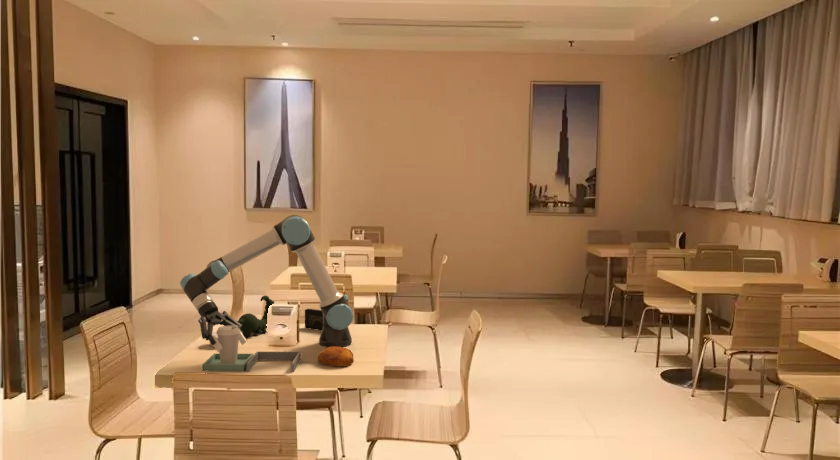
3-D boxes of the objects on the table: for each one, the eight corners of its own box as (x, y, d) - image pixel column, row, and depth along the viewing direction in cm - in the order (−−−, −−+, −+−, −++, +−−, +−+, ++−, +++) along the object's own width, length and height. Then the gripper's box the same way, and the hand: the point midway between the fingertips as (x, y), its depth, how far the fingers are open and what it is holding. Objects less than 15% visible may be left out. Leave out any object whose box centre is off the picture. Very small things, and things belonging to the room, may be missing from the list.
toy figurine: (262, 331, 346) (228, 338, 323) (264, 293, 345) (230, 297, 322) (278, 334, 341) (244, 340, 318) (279, 295, 341) (246, 299, 318)
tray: (253, 359, 289) (253, 353, 288) (244, 370, 272) (244, 364, 272) (214, 359, 288) (214, 353, 288) (202, 370, 272) (202, 364, 271)
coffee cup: (234, 367, 275) (233, 331, 273) (212, 365, 276) (211, 329, 275) (244, 361, 284) (244, 325, 283) (223, 359, 286) (223, 324, 284)
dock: (300, 359, 289) (300, 351, 289) (293, 372, 271) (293, 363, 271) (256, 359, 289) (256, 351, 288) (246, 371, 271) (246, 363, 270)
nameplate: (304, 328, 347) (304, 309, 347) (307, 327, 349) (307, 308, 348) (338, 333, 337) (338, 313, 336) (340, 332, 339) (340, 312, 338)
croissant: (340, 375, 275) (342, 356, 274) (311, 364, 283) (312, 345, 282) (361, 365, 288) (363, 347, 286) (332, 355, 295) (334, 337, 294)
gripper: (223, 306, 297) (249, 345, 291) (177, 317, 275) (204, 358, 269) (231, 296, 294) (258, 334, 288) (186, 305, 272) (214, 347, 266)
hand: (232, 346), depth 278 cm, fingers open, 13 cm apart
